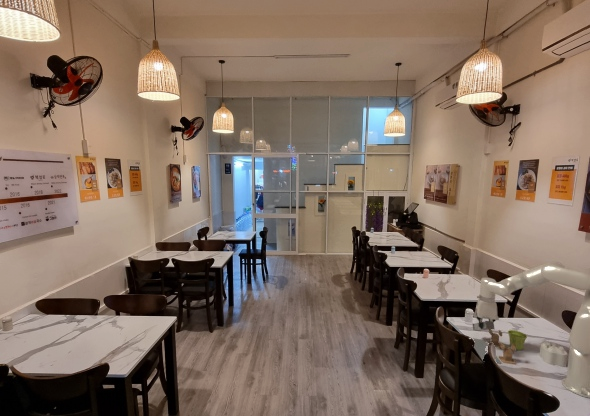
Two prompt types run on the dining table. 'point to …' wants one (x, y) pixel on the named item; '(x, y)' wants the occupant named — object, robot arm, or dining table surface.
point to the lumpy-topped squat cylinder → (553, 354)
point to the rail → (484, 326)
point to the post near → (507, 354)
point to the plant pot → (517, 339)
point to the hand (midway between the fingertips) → (484, 328)
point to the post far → (495, 338)
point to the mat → (482, 349)
